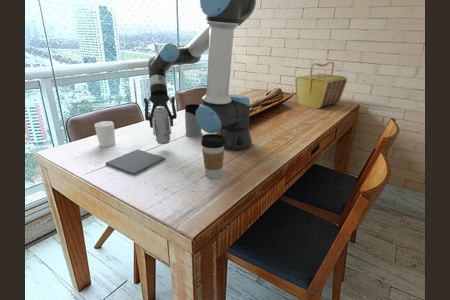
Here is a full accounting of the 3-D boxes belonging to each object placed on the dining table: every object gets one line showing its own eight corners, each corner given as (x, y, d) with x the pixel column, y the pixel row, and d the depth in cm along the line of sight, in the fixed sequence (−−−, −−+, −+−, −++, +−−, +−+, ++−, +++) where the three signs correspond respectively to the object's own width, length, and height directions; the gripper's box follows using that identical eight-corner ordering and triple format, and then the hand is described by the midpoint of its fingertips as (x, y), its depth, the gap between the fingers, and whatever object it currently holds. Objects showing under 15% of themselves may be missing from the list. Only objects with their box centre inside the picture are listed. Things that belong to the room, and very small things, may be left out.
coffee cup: (202, 170, 103) (201, 132, 97) (224, 169, 103) (224, 132, 98) (202, 181, 95) (201, 141, 89) (226, 180, 96) (226, 140, 90)
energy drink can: (167, 145, 117) (164, 111, 111) (154, 144, 118) (150, 110, 112) (172, 140, 122) (169, 107, 116) (159, 139, 123) (156, 107, 117)
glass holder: (181, 135, 137) (180, 106, 131) (197, 128, 149) (196, 101, 143) (196, 138, 133) (195, 109, 127) (210, 130, 145) (210, 103, 139)
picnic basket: (313, 98, 220) (318, 60, 209) (343, 104, 202) (351, 62, 191) (291, 104, 203) (295, 62, 191) (322, 111, 185) (329, 65, 173)
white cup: (110, 148, 121) (106, 127, 117) (94, 146, 123) (90, 125, 119) (120, 142, 128) (116, 121, 125) (105, 140, 130) (101, 120, 126)
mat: (165, 159, 111) (164, 157, 110) (134, 175, 98) (133, 173, 98) (137, 151, 118) (137, 149, 118) (106, 164, 106) (105, 162, 106)
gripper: (179, 91, 128) (184, 135, 120) (137, 93, 124) (140, 138, 116) (179, 81, 121) (185, 127, 113) (135, 83, 117) (137, 131, 109)
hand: (162, 133), depth 114 cm, fingers closed on energy drink can, 6 cm apart
